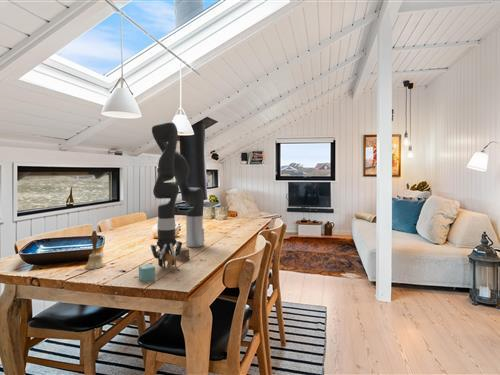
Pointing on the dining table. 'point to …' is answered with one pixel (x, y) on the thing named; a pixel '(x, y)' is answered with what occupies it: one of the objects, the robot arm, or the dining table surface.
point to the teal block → (146, 272)
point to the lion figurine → (169, 260)
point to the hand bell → (94, 255)
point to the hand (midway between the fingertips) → (166, 265)
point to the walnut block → (183, 254)
